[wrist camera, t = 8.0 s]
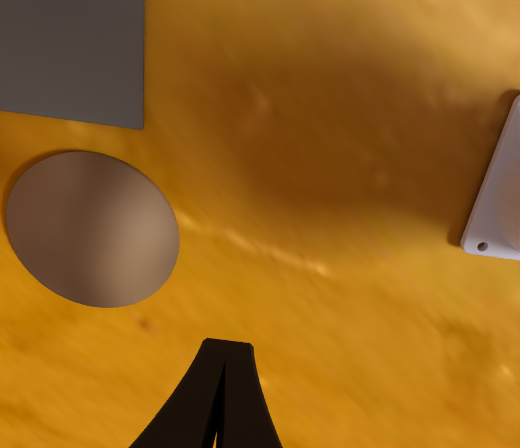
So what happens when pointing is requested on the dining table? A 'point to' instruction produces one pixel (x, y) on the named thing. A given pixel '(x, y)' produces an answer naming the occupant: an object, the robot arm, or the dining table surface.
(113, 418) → the dining table surface
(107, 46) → the mat
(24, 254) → the walnut coaster
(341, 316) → the dining table surface
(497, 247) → the robot arm
